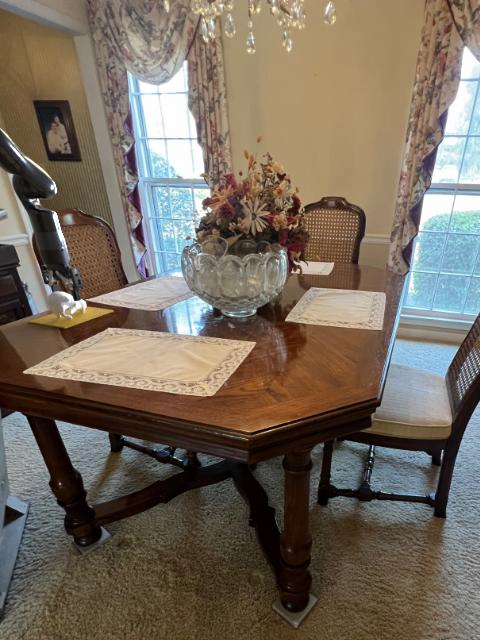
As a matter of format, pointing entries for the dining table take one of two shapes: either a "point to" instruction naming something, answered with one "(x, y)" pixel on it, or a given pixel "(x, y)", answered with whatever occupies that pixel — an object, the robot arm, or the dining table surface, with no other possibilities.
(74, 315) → the cloth
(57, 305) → the white animal figurine
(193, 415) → the dining table surface
